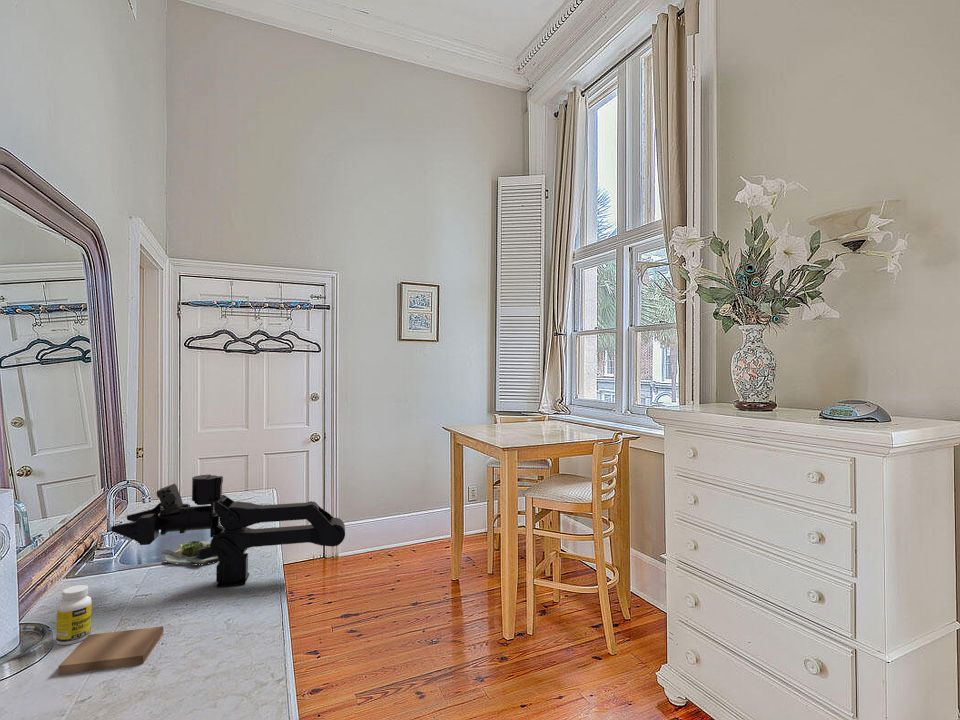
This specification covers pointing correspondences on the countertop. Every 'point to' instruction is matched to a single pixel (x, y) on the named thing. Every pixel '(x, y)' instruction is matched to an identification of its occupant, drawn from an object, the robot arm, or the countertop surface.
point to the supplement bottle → (73, 615)
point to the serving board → (112, 650)
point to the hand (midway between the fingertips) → (119, 523)
